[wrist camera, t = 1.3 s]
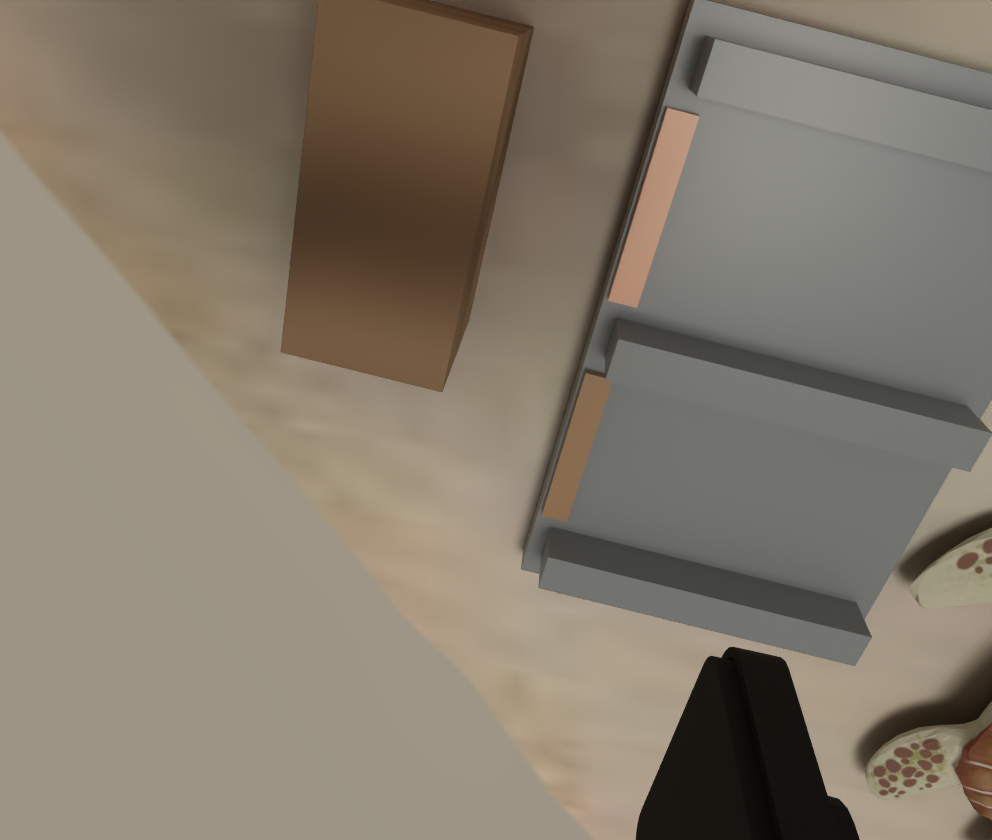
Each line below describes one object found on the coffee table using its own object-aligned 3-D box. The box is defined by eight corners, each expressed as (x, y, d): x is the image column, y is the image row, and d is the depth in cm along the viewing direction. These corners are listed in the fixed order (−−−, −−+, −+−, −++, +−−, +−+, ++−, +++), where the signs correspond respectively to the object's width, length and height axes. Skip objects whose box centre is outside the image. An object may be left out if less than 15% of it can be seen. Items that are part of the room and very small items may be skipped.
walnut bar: (378, -13, 21) (319, -14, 16) (534, 27, 21) (518, 36, 16) (337, 286, 24) (280, 352, 20) (469, 319, 24) (442, 392, 20)
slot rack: (691, -3, 20) (703, -3, 18) (1130, 110, 20) (1200, 126, 18) (523, 550, 28) (517, 601, 25) (838, 629, 28) (860, 686, 26)
